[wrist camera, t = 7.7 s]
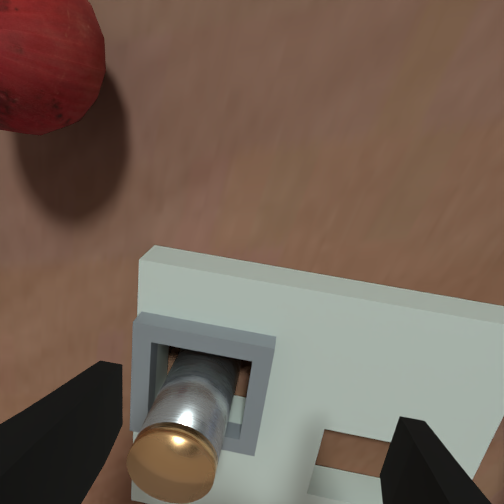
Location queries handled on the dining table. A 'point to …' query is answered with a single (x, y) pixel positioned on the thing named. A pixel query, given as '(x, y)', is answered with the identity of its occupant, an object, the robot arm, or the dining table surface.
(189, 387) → the silver and gold cylinder
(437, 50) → the dining table surface
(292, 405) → the board
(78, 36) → the onion
